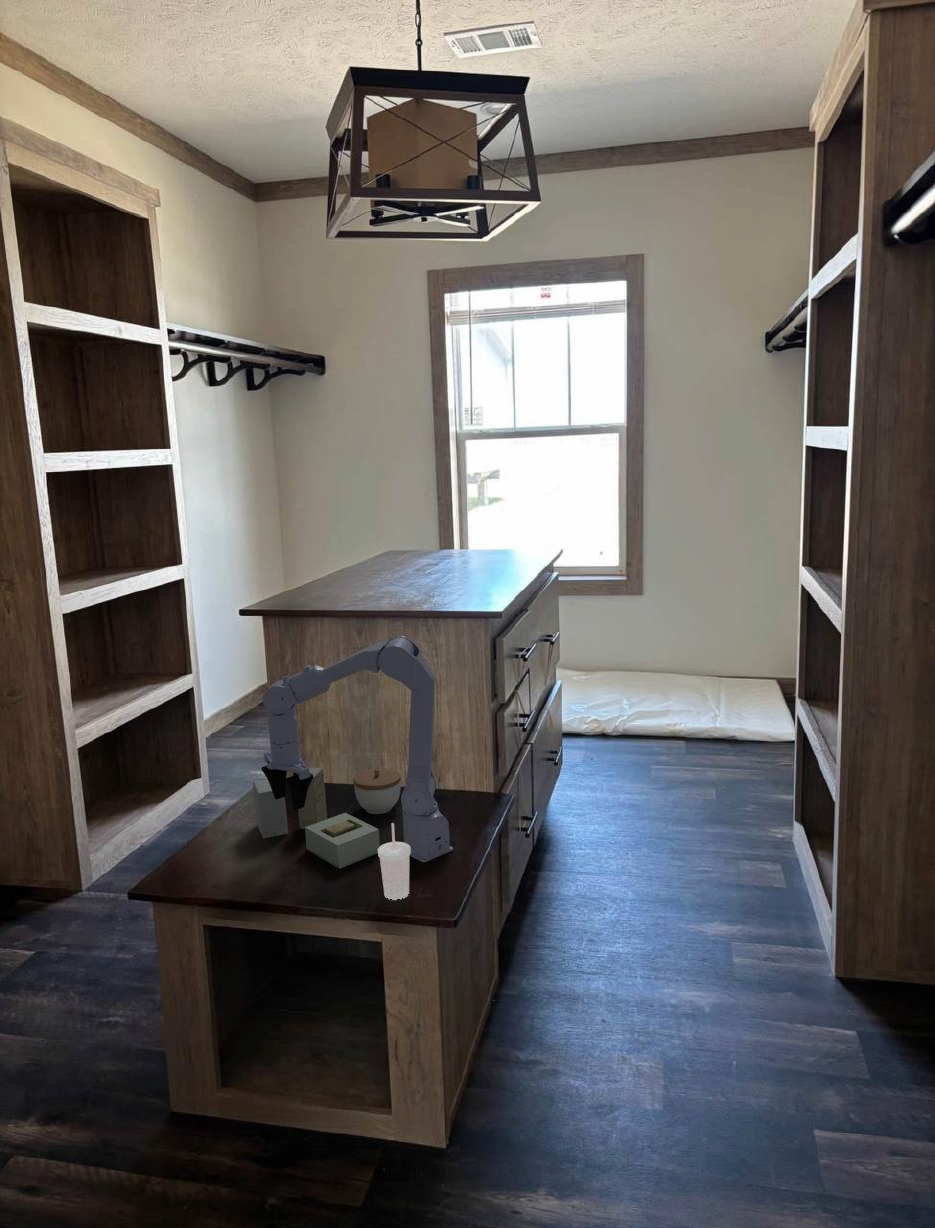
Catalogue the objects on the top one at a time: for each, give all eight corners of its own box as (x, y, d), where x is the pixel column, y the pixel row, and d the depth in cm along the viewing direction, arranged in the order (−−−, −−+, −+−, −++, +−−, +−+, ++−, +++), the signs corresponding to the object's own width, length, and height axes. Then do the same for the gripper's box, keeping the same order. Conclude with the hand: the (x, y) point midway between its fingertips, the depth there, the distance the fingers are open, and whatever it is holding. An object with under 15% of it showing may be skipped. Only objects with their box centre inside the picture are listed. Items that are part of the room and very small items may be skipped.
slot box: (380, 852, 184) (378, 829, 183) (339, 869, 177) (337, 845, 176) (346, 834, 193) (345, 812, 192) (306, 849, 186) (304, 827, 185)
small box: (288, 834, 194) (284, 788, 192) (262, 839, 192) (258, 793, 190) (281, 820, 201) (278, 776, 199) (256, 825, 199) (252, 780, 197)
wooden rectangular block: (355, 847, 185) (354, 824, 184) (336, 855, 182) (334, 832, 181) (347, 843, 187) (345, 820, 186) (327, 851, 184) (325, 828, 183)
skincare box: (317, 830, 195) (313, 777, 193) (298, 829, 196) (294, 777, 194) (328, 818, 201) (324, 767, 199) (309, 817, 202) (305, 766, 200)
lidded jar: (356, 800, 210) (354, 762, 209) (402, 798, 211) (400, 760, 209) (353, 820, 200) (351, 780, 198) (402, 817, 200) (399, 777, 199)
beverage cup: (400, 882, 171) (396, 813, 168) (419, 894, 166) (416, 823, 164) (373, 893, 167) (369, 823, 164) (393, 905, 163) (388, 833, 160)
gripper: (248, 736, 184) (254, 799, 187) (285, 753, 174) (290, 819, 176) (279, 728, 189) (284, 789, 192) (316, 744, 178) (321, 808, 181)
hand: (289, 803), depth 184 cm, fingers open, 7 cm apart
